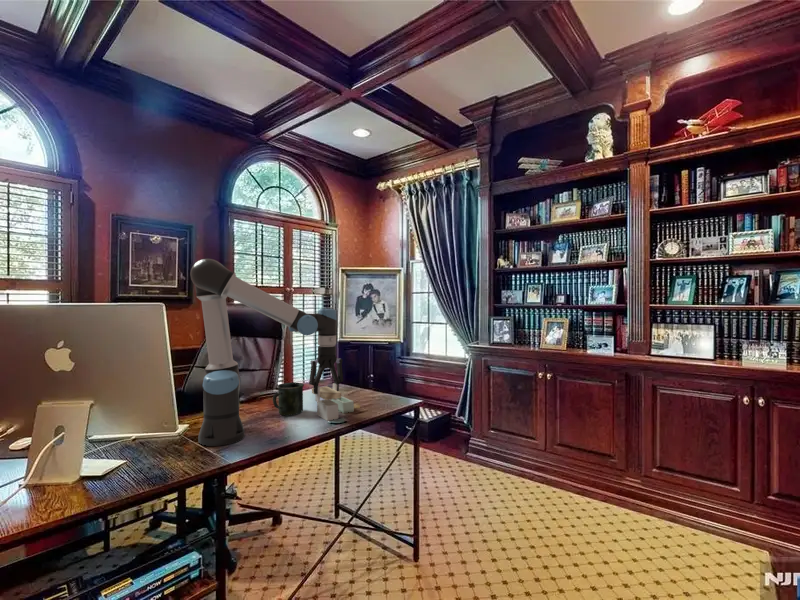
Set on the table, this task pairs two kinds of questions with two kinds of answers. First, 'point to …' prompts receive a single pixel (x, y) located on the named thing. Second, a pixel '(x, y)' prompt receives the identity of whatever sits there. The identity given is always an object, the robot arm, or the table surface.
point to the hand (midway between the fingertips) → (326, 400)
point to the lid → (328, 393)
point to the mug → (289, 398)
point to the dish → (344, 404)
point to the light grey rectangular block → (327, 409)
